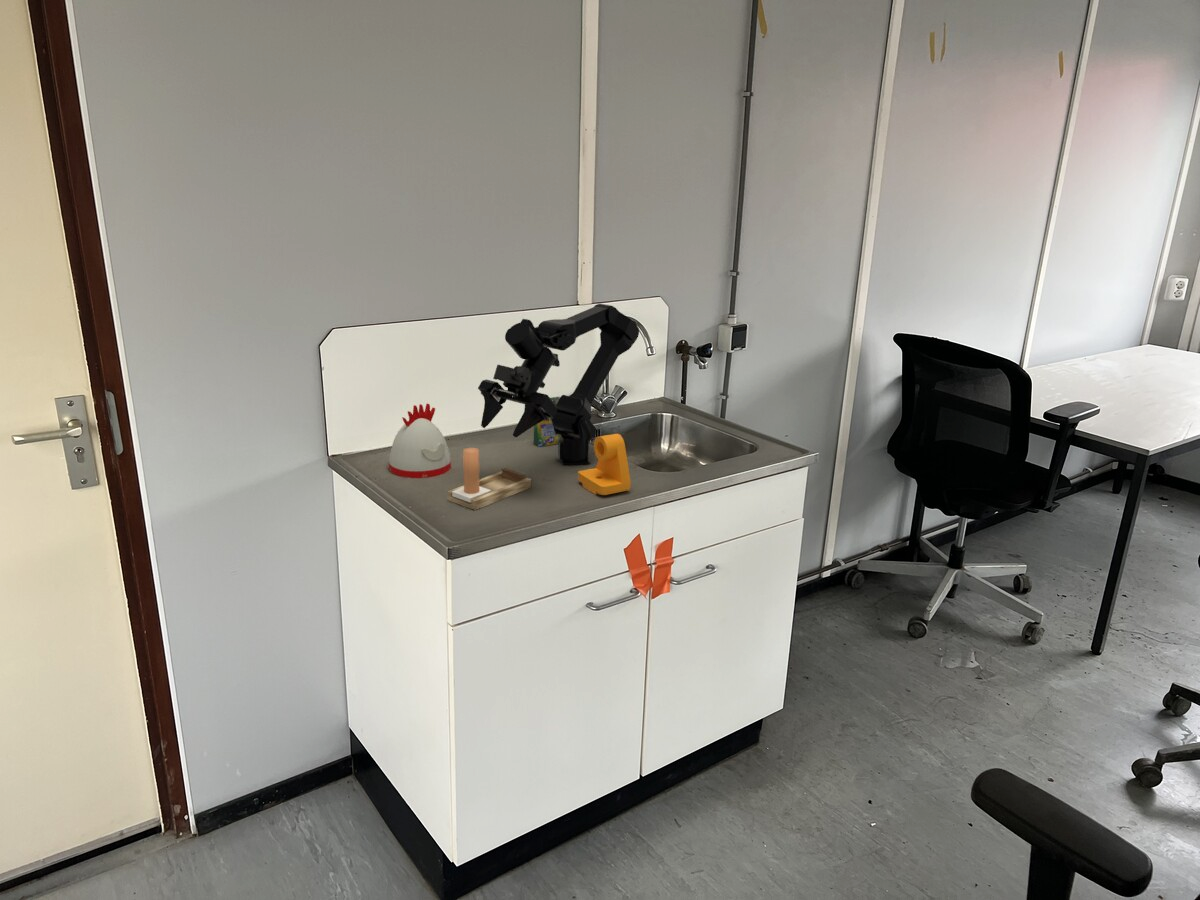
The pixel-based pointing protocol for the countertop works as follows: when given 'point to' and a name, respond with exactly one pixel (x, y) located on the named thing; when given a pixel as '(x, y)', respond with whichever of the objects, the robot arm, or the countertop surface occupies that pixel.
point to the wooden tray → (496, 488)
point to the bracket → (607, 467)
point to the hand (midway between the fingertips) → (498, 431)
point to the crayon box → (546, 431)
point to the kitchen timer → (419, 447)
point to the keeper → (470, 477)
